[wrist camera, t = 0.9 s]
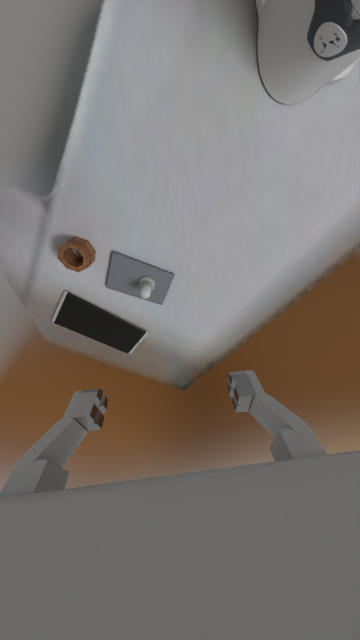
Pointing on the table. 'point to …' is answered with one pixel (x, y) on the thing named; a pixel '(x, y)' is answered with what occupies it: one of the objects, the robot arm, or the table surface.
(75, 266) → the ring
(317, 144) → the table surface
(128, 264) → the post stand
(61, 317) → the smartphone
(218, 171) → the table surface
